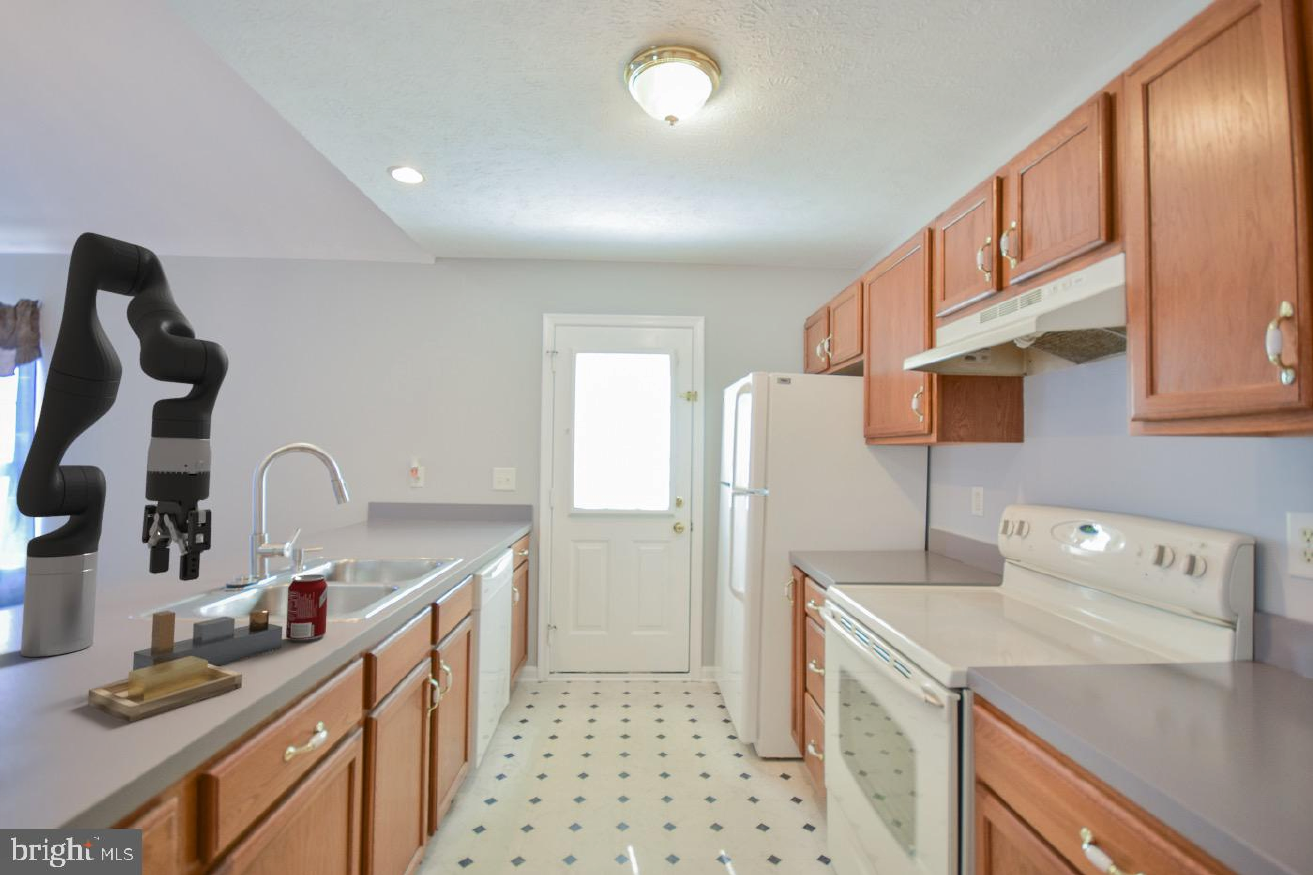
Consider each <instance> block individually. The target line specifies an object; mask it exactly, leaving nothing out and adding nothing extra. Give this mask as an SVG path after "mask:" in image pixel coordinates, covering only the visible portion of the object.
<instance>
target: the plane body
mask: <svg viewBox="0 0 1313 875" xmlns="http://www.w3.org/2000/svg"><path fill="white" fill-rule="evenodd" d="M235 619H236V618H233V617H229V616H222V617H217V618H212V619H208V620H207V619H206V620H203V621H197V622H194V623H193V629H192V630H193V631H192V638H188V639H183V640H179V641H175V628H176V627H175V624H176V612H173V611H170V610H166V611H165V610H164V611H159V612H156V613H155V612H154V613H152V625H151V645H150V647H149V648H145V649H141V650H137V651H134V652H133V660H132V661H133V664H132V666H133V667H132V671H134V670H138V669H142V668H146V667H150V666H153V665H157V664H161V663H165V662H169V661H173V660H177V659H181V658H185V657H189V656H194V657H198V658H201V659H204V660H207V661H208V664H211V665H214V666H218V667H220V666H222V665H227V664H230V663H234V662H236V661H240V660H244V658H245V659H248V658H252V657H255V655H256V656H259V655H262V653H263V654H266V652H267V653H270V652H273V651H272V650H274V651H277V650H281V649H282V644H283V642H282V640H283V626H281V625H277V624H273V623H269V622H270V609H266V608H265V609H262V608H261V609H254V610H251V611H249V621H248V622H249V623H248V625H245V626H240V627H236V628H235ZM276 649H277V650H276ZM269 651H270V652H269ZM258 654H259V655H258ZM251 656H252V657H251ZM247 657H248V658H247Z"/></svg>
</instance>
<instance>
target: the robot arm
mask: <svg viewBox="0 0 1313 875" xmlns="http://www.w3.org/2000/svg"><path fill="white" fill-rule="evenodd" d="M68 266H69V268H68V273H67V279H66V288H65V289H66V290H65V296H64V304H63V310H62V311H63V312H62V317H61V322H60V325H59V326H60V327H59V331H58V334H57V339H56V342H55V345H54V346H55V347H54V350H53V353H52V356H51V359H50V360H51V361H50V363H49V368H48V370H47V372H48V373H47V377H46V381H45V383H44V384H45V385H44V392H43V397H42V402H41V406H40V412H39V417H38V421H37V425H36V429H35V432H34V436H33V439H32V441H31V445H30V448H29V450H28V453H27V456H26V459H25V462H24V464H23V467H22V471H21V474H20V476H19V481H18V482H17V484H18V485H17V487H16V488H17V490H16V498H15V499H16V505H17V509H18V511H19V512H20V514H22V515H23V516H25V517H29V518H51V517H53V518H54V517H69V518H68V521H67V522H66V523H65V524H63V525H62V526H60V527H58V528H57V529H54V530H52V531H50V532H48V533H44V534H41V535H38V536H36V537H33V538H32V539H30V540H28V543H27V547H26V557H25V559H26V560H25V563H26V564H25V577H24V578H25V579H24V580H25V581H24V582H25V583H24V596H23V610H22V612H23V613H22V626H21V627H22V629H21V630H22V631H21V642H20V655H21V656H23V657H30V658H31V657H32V658H33V657H34V658H35V657H37V658H38V657H49V656H50V657H51V656H58V655H63V654H67V653H73V652H77V651H81V650H83V649H86V648H89V647H91V646H92V645H93V643H94V632H95V628H94V627H95V616H96V614H95V613H96V600H97V598H96V594H97V578H98V558H99V543H100V539H101V535H102V532H103V531H102V530H103V518H104V511H105V503H106V496H107V495H106V494H107V482H106V476H105V474H104V472H103V471H102V469H101V468H100V467H98V466H96V465H81V464H78V465H77V464H76V465H75V464H73V465H71V464H70V465H66V464H63V465H62V464H61V462H62V460H63V457H64V456H65V454H66V453H67V450H68V449H69V447H70V446H72V444H73V443H74V442H75V440H77V439H78V437H80V436H81V435H82V434H83V433H84V432H85V431H87V430H88V429H89V428H90V427H92V426H93V425H94V424H95V423H97V422H98V421H99V420H100V419H102V418H103V417H104V416H105V415H106V414H107V413H108V412H109V411H110V410H111V409H112V407H113V406H114V404H115V403H116V400H117V397H118V396H117V395H118V393H119V388H120V385H121V384H120V383H121V380H122V376H123V366H122V365H123V364H122V362H121V360H120V357H119V355H118V353H117V352H116V349H115V347H114V346H113V344H112V342H111V340H110V339H109V337H108V336H107V334H106V331H105V330H104V328H103V325H102V322H101V321H100V319H99V316H98V311H97V310H98V309H97V295H98V291H101V292H102V291H104V292H108V293H112V294H117V295H122V296H124V297H125V296H126V297H132V299H131V300H130V301H129V303H128V305H127V308H126V319H127V322H128V324H129V326H130V328H131V329H132V331H133V332H134V334H135V335H136V337H137V338H138V339H139V346H140V351H139V366H140V369H141V371H142V372H143V373H144V374H145V375H146V376H148V377H149V378H151V379H153V380H156V381H159V382H166V383H176V384H177V383H178V384H186V385H192V388H191V389H190V391H189V392H188V393H187V395H186V396H182V397H170V398H164V399H163V398H161V399H159V400H157V401H156V402H154V404H153V406H152V411H151V413H152V414H151V431H150V433H151V434H150V435H151V436H150V437H151V438H150V442H149V446H148V451H147V461H146V463H147V464H146V478H145V495H144V496H145V499H146V500H147V501H150V502H157V504H156V503H155V504H145V505H144V511H143V521H142V534H141V542H142V544H147V548H148V549H149V550H150V553H149V565H148V566H149V567H148V568H149V570H148V571H149V573H150V574H153V575H155V574H156V575H157V574H165V573H167V572H168V571H169V570H170V554H171V552H170V551H171V548H170V546H171V543H172V542H174V544H175V543H176V544H178V547H179V548H178V549H179V551H180V554H181V555H180V557H179V574H178V576H179V580H180V581H182V582H183V581H184V582H186V581H187V582H188V581H193V580H197V579H198V578H200V562H201V560H200V558H201V554H202V553H204V551H209V550H211V547H212V510H211V509H208V508H207V509H199V504H198V503H199V501H205V500H207V499H209V497H210V487H211V465H212V449H211V448H212V447H211V431H212V430H211V429H212V415H213V410H214V408H215V405H216V401H217V398H218V396H219V392H220V390H221V388H222V385H223V383H224V381H225V378H226V376H227V373H228V370H229V358H228V354H227V352H226V350H225V349H224V347H223V346H222V345H221V344H219V343H217V342H215V341H212V340H211V341H210V340H204V339H199V338H196V332H195V330H194V327H193V325H192V324H191V323H190V321H189V320H188V319H187V317H186V315H184V313H183V312H182V311H181V309H180V308H179V306H178V305H177V303H176V301H175V299H174V295H173V292H172V290H171V287H170V284H169V280H168V278H167V275H166V272H165V269H164V267H163V264H162V262H161V260H160V258H159V257H158V256H157V254H155V252H154V251H152V250H150V249H148V248H146V247H144V246H141V245H139V244H134V243H131V242H128V241H125V240H120V239H117V238H113V237H110V236H106V235H102V234H99V233H95V232H91V231H87V232H84V233H81V234H80V235H79V236H78V237H77V238H76V241H75V242H74V244H73V248H72V251H71V255H70V260H69V265H68ZM201 538H202V539H201Z"/></svg>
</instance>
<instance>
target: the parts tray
mask: <svg viewBox="0 0 1313 875" xmlns="http://www.w3.org/2000/svg"><path fill="white" fill-rule="evenodd" d="M242 686H243V673H240V672H236V671H233V670H230V669H227V668H224V667H220V666H214V665H211V664H208V670H207V682H206V683H203V684H200V685H196V686H193V687H189V688H186V689H183V690H179V691H176V692H172V693H169V694H165V695H162V696H159V697H155V698H152V699H148V700H145V701H142V702H141V701H139V700H136V699H133V698H131V697H128V679H125V680H122V681H118V682H113V683H110V684H106V685H101V686H98V687H95V688H91V689H88V698H87V701H88V702H87V704H88V705H89V704H90V706H91V705H92V706H91V707H94V708H97V709H99V710H100V711H103V712H105V713H108V714H110V715H111V716H115V717H117V718H119V719H121V720H123V721H126V722H128V723H132V722H136V721H139V720H142V719H145V718H148V717H152V716H155V715H158V714H161V713H164V712H167V711H171V710H174V709H176V708H177V709H178V708H180V707H183V706H184V707H185V706H187V705H190V704H193V703H196V702H200V701H203V700H206V699H209V698H212V697H215V696H218V695H222V694H225V693H228V692H230V691H233V690H237V689H240V688H242Z"/></svg>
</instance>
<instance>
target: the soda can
mask: <svg viewBox="0 0 1313 875" xmlns="http://www.w3.org/2000/svg"><path fill="white" fill-rule="evenodd" d="M325 577H326V576H325V575H324V574H318V573H317V574H315V573H313V574H303V575H297V576H293V577H292V580H291V581H292V582H291V583H290V584H289V586H288V588H287V604H286V605H287V607H286V608H287V609H286V625H285V626H286V628H285V633H286V634H285V638H286V639H287V640H289V641H291V642H294V643H306V642H307V643H309V642H313V641H316V640H318V639H320V638H321V637H324V636H325V635H326V632H327V613H328V612H327V610H328V589H329V588H328V585H329V584H328V583H327V582H326V580H325Z"/></svg>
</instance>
